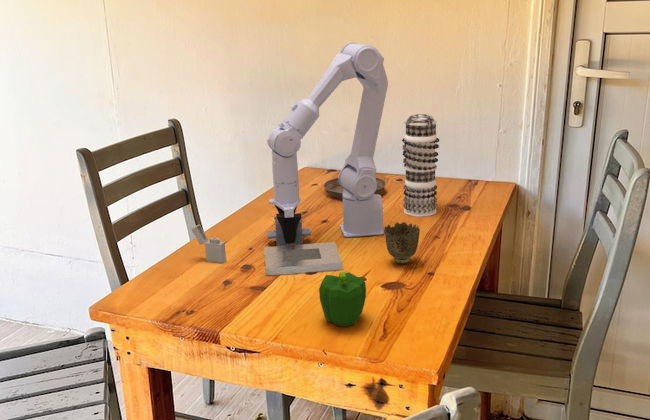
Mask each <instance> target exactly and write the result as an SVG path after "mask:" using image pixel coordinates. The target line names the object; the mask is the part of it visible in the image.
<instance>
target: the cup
mask: <svg viewBox="0 0 650 420" xmlns="http://www.w3.org/2000/svg"><path fill="white" fill-rule="evenodd" d="M383 232H384V235H385V245H386V250H387V252H388V254H389V255H390V256H391V257H393V263H395V264H396V265H398V266H405V265H406V266H408V265H409V264H410V263H411V261H412V259H411V258H412V257H414V255H415V254H416V252H417V251H418V247H419V239H420V232H421V228H420V227H419V225H417V223H416V224H414V225H413V223H409V224H408V223H407V222H405V221H402V222H401V223H399V222H395V223H394V226H391V224H387V226H384V228H383Z"/></svg>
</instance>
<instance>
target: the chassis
mask: <svg viewBox="0 0 650 420" xmlns="http://www.w3.org/2000/svg"><path fill="white" fill-rule="evenodd" d="M263 253H264V254H263V255H264V262H265V265H264V266H265V276H267V277H268V276H278V275H279V276H280V275H291V274H293V275H294V274H303V273H307V274H308V273H317V272H331V271H342V270H343V261H342V257H341V255H340V253H339V250H338V246H337V245H336V242H335V241H332V242H320V243H318V242H317V243H316V242H314V243H307V244H306V243H305V244H304V243H303V244H300V245H287V246H277V245H276V246H267V247H265V246H264V247H263Z"/></svg>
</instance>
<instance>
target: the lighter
mask: <svg viewBox="0 0 650 420" xmlns="http://www.w3.org/2000/svg"><path fill="white" fill-rule="evenodd" d="M191 231H192V233H193V235H194V236H195V239H196V240H197V242H198V244H199V246H201V245H203V244H204V247H205V248H204V249H205V250H204V251H205V258H206V262H211V263H219V264H223V263H225V262H226V261H227V255H226V254H227V253H226V244H225V241H221V240H220V238H219V237H213V236H212V237H210V238H209V239H208V237H207V235H206V233H205V231H204V229H203V228H202V226H201V224H200V223H198V224H197V225H194V226H193V227H191Z"/></svg>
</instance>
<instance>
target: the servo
mask: <svg viewBox="0 0 650 420" xmlns="http://www.w3.org/2000/svg"><path fill="white" fill-rule="evenodd" d="M274 225H275V230H269V231H267V232H266V234H267V235H266V236H267V240H272V239H273V240H274V239H275V242H276V246H289V245H302V244H304V242H303V237H311V236H312V233H311V228H309V227H308V228H307V227H306V228H303V221H302V218H301V219H300V221H299V224H298V227H297V232H296V239H295V243H287V244H286V243H285V240H284V236H283V231H282V228H281V225H280V223H279V222H278V220H277V218H274Z"/></svg>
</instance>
